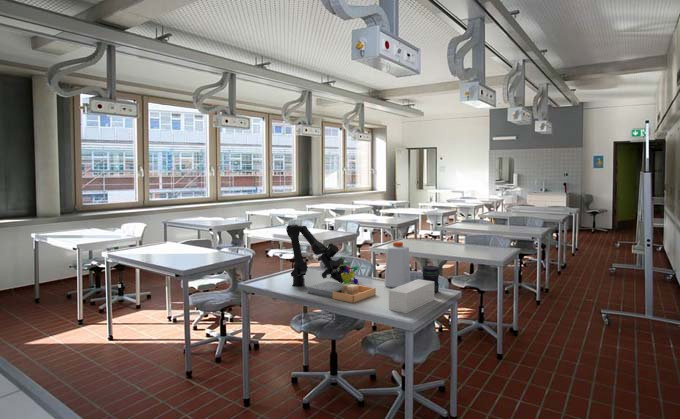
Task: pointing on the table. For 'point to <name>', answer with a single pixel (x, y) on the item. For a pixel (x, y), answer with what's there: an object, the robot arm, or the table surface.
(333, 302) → the table surface
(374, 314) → the table surface
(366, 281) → the table surface
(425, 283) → the long white block
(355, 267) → the molecular model
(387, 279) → the plastic bottle
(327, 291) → the slate plate
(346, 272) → the chalk box
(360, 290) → the box
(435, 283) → the storage jar
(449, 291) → the table surface
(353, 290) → the beech block
